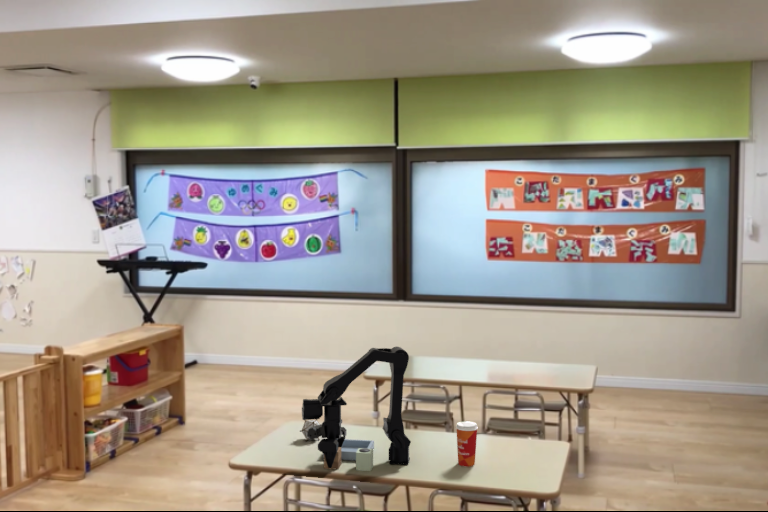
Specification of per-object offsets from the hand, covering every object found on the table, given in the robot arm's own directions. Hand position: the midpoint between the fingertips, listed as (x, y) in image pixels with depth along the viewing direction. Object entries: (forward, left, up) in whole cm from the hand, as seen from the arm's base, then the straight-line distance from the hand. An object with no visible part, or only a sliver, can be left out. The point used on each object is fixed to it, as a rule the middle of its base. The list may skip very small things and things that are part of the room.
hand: (332, 463), depth 258 cm
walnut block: (0, 0, -1) cm, 1 cm away
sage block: (-11, 0, -1) cm, 11 cm away
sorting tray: (-3, -14, -1) cm, 14 cm away
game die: (+14, -28, -1) cm, 31 cm away
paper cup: (-45, -9, -1) cm, 46 cm away
